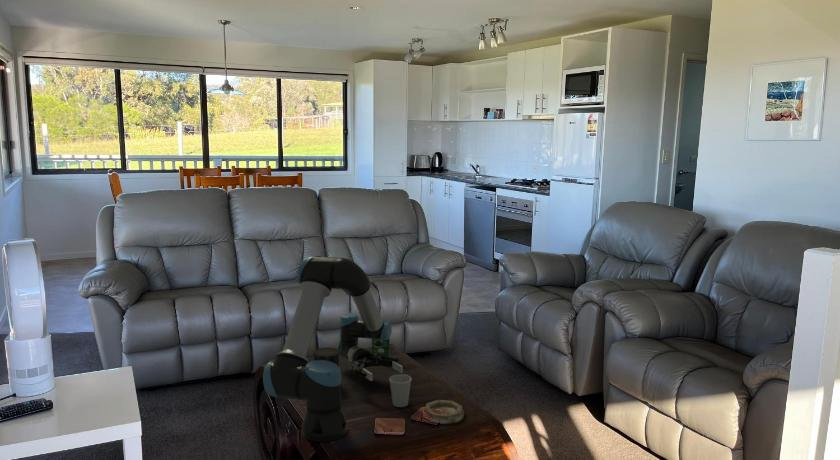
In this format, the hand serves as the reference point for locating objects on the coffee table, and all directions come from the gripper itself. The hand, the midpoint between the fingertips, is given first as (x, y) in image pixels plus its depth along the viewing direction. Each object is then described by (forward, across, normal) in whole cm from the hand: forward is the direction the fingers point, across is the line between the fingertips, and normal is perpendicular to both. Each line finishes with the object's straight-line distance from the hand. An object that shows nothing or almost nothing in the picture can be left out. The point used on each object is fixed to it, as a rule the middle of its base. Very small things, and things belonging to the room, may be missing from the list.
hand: (387, 373), depth 231 cm
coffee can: (-21, +15, -9) cm, 27 cm away
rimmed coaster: (+26, -8, -8) cm, 28 cm away
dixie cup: (+10, 0, -9) cm, 13 cm away
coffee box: (-36, -19, -9) cm, 42 cm away
